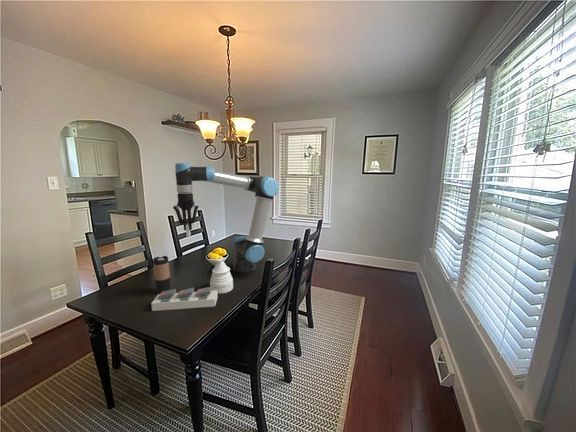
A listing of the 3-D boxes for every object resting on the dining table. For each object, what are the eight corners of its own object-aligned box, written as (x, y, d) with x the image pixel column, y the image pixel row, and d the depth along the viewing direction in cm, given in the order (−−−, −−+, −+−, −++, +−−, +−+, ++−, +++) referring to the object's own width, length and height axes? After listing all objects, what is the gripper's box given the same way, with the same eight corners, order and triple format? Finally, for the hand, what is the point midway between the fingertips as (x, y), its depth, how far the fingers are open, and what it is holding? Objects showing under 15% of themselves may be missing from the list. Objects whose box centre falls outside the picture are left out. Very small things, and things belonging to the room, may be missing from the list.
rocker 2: (211, 289, 132) (211, 286, 132) (210, 293, 127) (209, 290, 127) (198, 292, 131) (197, 289, 131) (196, 296, 127) (195, 294, 126)
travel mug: (163, 296, 136) (160, 261, 132) (153, 293, 138) (149, 259, 134) (174, 289, 143) (171, 256, 139) (164, 287, 145) (160, 255, 142)
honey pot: (232, 292, 140) (231, 262, 136) (208, 294, 138) (206, 263, 134) (233, 282, 152) (232, 254, 149) (212, 284, 150) (210, 255, 146)
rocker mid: (194, 290, 131) (193, 287, 131) (192, 294, 126) (191, 291, 126) (180, 293, 130) (180, 290, 130) (178, 298, 125) (177, 295, 125)
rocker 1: (176, 291, 130) (175, 288, 129) (173, 296, 125) (172, 293, 125) (162, 294, 129) (161, 291, 129) (159, 299, 124) (158, 296, 124)
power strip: (217, 297, 134) (217, 290, 134) (215, 306, 126) (214, 298, 125) (159, 301, 131) (158, 294, 130) (152, 311, 122) (151, 303, 121)
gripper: (199, 191, 135) (202, 233, 140) (174, 192, 134) (178, 234, 138) (196, 193, 128) (199, 237, 133) (169, 193, 126) (173, 238, 131)
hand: (188, 235), depth 135 cm, fingers closed
